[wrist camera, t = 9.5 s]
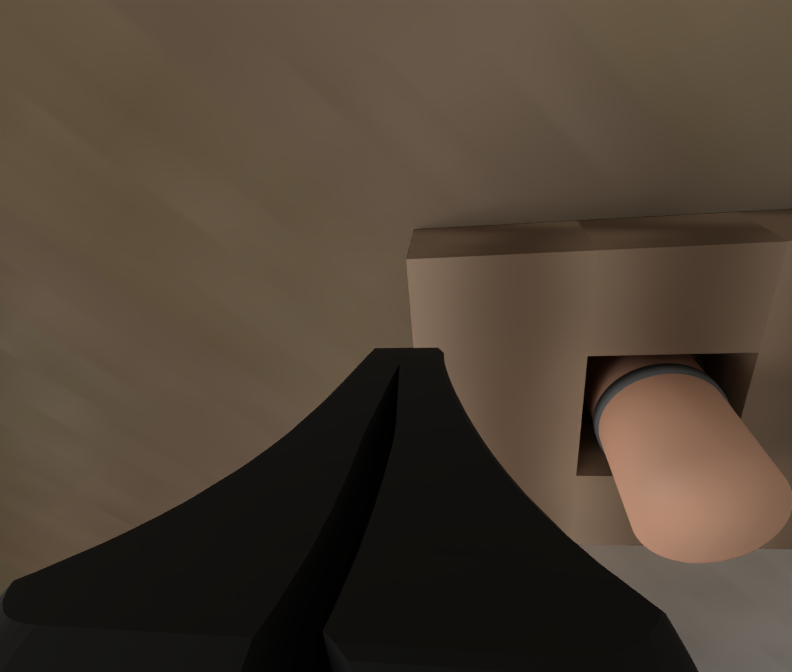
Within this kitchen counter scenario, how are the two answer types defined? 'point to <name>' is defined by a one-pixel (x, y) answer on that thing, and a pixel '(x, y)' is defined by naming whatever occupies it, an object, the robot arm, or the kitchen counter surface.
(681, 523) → the peg
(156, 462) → the kitchen counter surface
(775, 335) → the socket board
